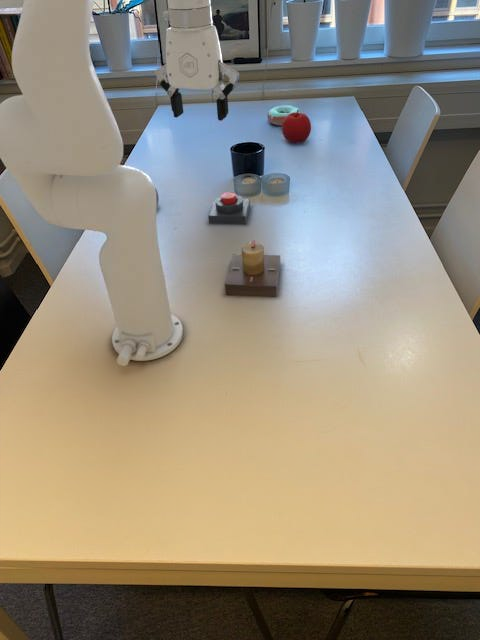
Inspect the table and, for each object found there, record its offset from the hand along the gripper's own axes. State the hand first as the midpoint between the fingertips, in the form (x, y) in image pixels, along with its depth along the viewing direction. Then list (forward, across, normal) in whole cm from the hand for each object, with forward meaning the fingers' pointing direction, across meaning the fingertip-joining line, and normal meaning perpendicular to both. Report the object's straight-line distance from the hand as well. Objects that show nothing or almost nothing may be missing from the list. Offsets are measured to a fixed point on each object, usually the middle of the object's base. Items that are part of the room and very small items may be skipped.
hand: (200, 116), depth 99 cm
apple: (+26, +4, +61) cm, 66 cm away
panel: (+26, +16, -15) cm, 34 cm away
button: (+23, +1, +9) cm, 25 cm away
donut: (+26, -5, +78) cm, 83 cm away
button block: (+26, +1, +9) cm, 28 cm away
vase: (+27, -21, +6) cm, 34 cm away
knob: (+24, +16, -15) cm, 33 cm away
